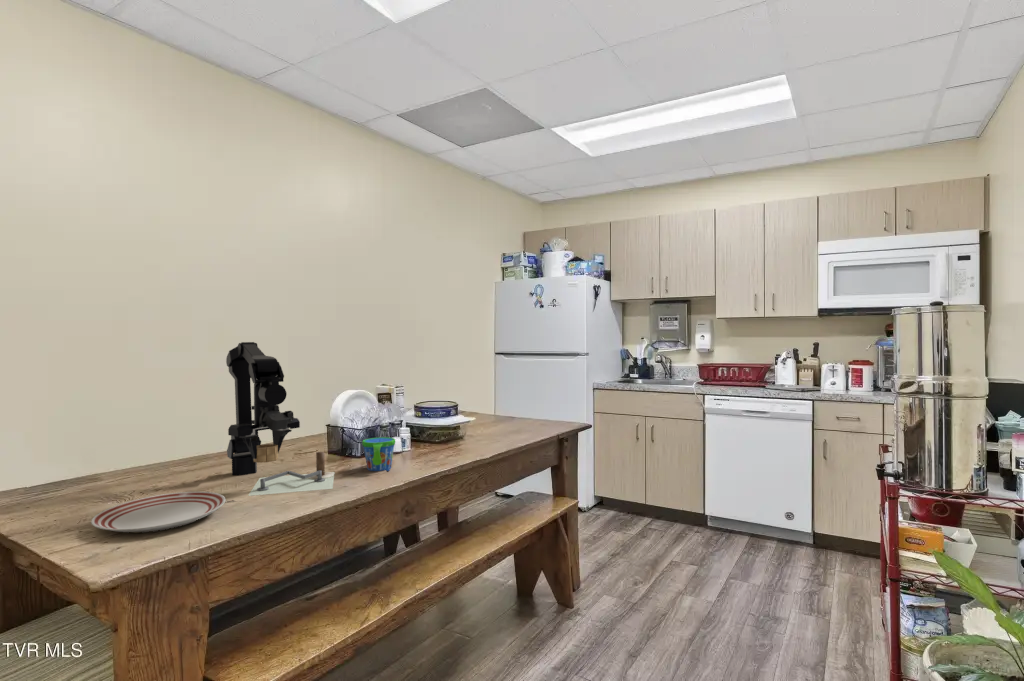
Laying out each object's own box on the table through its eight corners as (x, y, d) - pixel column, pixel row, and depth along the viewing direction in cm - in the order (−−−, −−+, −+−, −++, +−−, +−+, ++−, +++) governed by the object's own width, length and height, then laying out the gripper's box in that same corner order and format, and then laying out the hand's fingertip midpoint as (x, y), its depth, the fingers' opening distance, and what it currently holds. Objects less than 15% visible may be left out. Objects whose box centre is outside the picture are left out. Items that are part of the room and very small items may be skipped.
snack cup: (368, 465, 190) (368, 435, 190) (399, 464, 190) (399, 435, 190) (357, 476, 174) (356, 444, 174) (391, 476, 175) (390, 443, 174)
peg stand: (306, 480, 167) (305, 455, 167) (307, 474, 175) (307, 450, 175) (333, 478, 170) (333, 454, 170) (334, 472, 177) (334, 449, 177)
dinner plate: (168, 543, 119) (168, 528, 119) (59, 538, 123) (59, 523, 123) (249, 505, 146) (249, 492, 146) (157, 502, 150) (157, 489, 150)
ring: (250, 462, 156) (250, 448, 156) (259, 458, 162) (258, 444, 162) (273, 462, 156) (272, 447, 156) (280, 457, 162) (280, 443, 162)
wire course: (247, 498, 151) (247, 484, 151) (259, 480, 172) (259, 468, 172) (332, 491, 158) (332, 478, 158) (334, 474, 178) (334, 462, 178)
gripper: (248, 407, 146) (249, 466, 147) (310, 400, 162) (311, 454, 162) (226, 404, 153) (227, 461, 153) (288, 398, 168) (289, 449, 168)
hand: (265, 456), depth 159 cm, fingers closed on ring, 6 cm apart
